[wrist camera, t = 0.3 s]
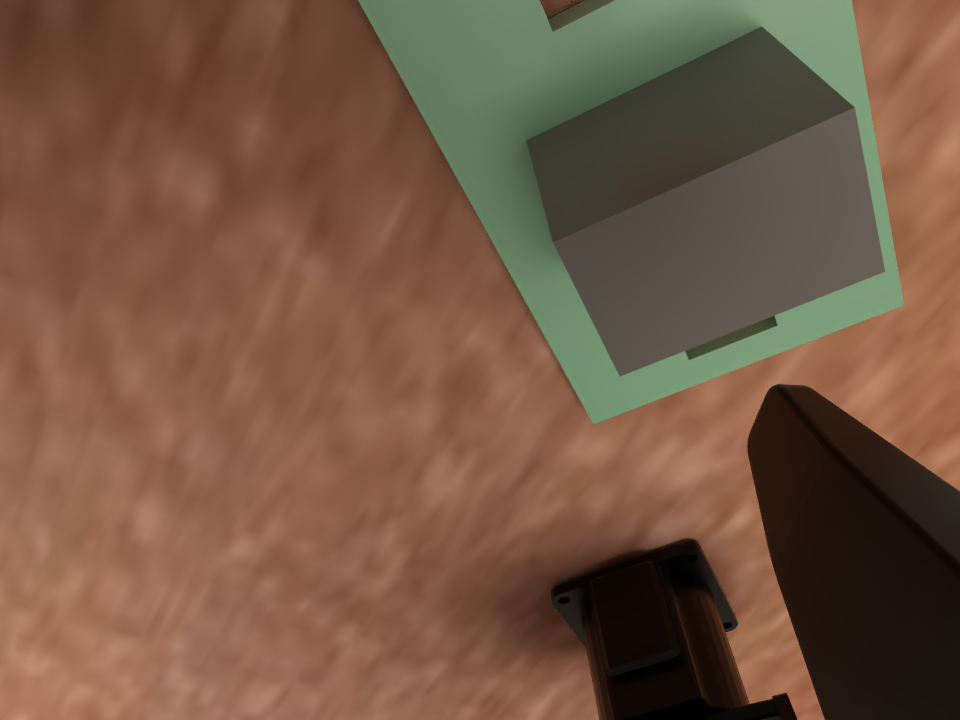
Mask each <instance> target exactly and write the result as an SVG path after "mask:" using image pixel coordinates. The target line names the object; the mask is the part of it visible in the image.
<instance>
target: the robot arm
mask: <svg viewBox="0 0 960 720" xmlns="http://www.w3.org/2000/svg"><path fill="white" fill-rule="evenodd" d="M747 448H748V457H749V461H750V466H751V471H752V475H753V480H754V484H755V489H756V494H757V498H758V503H759V508H760V512H761V517H762V521H763V526H764V531H765V535H766V540H767V544H768V549H769V553H770V557H771V561H772V564H773V568H774V571H775V574H776V577H777V580H778V584H779V587H780V589H781V592H782V595H783V598H784V601H785V604H786V607H787V610H788V613H789V616H790V619H791V622H792V625H793V628H794V631H795V634H796V636H797V639H798V642H799V645H800V648H801V651H802V654H803V657H804V660H805V663H806V666H807V669H808V672H809V675H810V678H811V680H812V683H813V686H814V689H815V692H816V695H817V698H818V701H819V704H820V707H821V710H822V713H823V716H824V719H825V720H960V491H958V490H957V489H956V488H954V487H953V486H951V485H950V484H948V483H947V482H945V481H944V480H943V479H941V478H940V477H938V476H937V475H935V474H934V473H933V472H931V471H930V470H928V469H927V468H925V467H924V466H922V465H921V464H920V463H918V462H917V461H915V460H914V459H912V458H911V457H909V456H908V455H907V454H905V453H904V452H902V451H901V450H899V449H898V448H896V447H895V446H894V445H892V444H891V443H889V442H888V441H886V440H885V439H884V438H882V437H881V436H879V435H878V434H876V433H875V432H873V431H872V430H871V429H869V428H868V427H866V426H865V425H863V424H862V423H861V422H859V421H858V420H856V419H855V418H853V417H852V416H850V415H849V414H848V413H846V412H845V411H843V410H842V409H840V408H839V407H837V406H836V405H835V404H833V403H832V402H830V401H829V400H827V399H826V398H825V397H823V396H822V395H820V394H819V393H817V392H816V391H814V390H813V389H812V388H810V387H807V386H803V385H785V384H777V385H774V386H772V387H771V388H770V389H769V390H768V392H767V394H766V396H765V398H764V400H763V403H762V405H761V407H760V410H759V412H758V414H757V417H756V419H755V422H754V424H753V426H752V429H751V431H750V434H749V437H748V445H747ZM551 596H552V602H553V604H554V606H555V607H556V608H557V610H558V611H559V612H560V614H561V615H562V616H563V618H564V619H565V620H566V622H567V623H568V624H569V626H570V627H571V628H572V629H573V631H574V632H575V633H576V635H577V636H578V637H579V639H580V640H581V641H582V643H583V644H584V645H585V647H586V649H587V654H588V660H589V665H590V671H591V676H592V682H593V687H594V693H595V698H596V704H597V709H598V715H599V720H797V717H796V715H795V712H794V710H793V707H792V705H791V703H790V700H789V698H788V695H787V693H783V694H779V695H775V696H772V698H773V699H770V700H765V701H761V702H757V703H753V704H750V703H749V701H748V698H747V695H746V692H745V689H744V686H743V683H742V680H741V677H740V674H739V671H738V668H737V665H736V662H735V659H734V656H733V653H732V650H731V647H730V644H729V641H728V639H727V636H726V633H725V632H728V631H731V630H733V629H735V628H736V627H737V625H738V622H737V619H736V616H735V614H734V612H733V610H732V608H731V606H730V604H729V602H728V600H727V598H726V596H725V594H724V592H723V590H722V588H721V586H720V584H719V582H718V580H717V578H716V576H715V574H714V572H713V570H712V568H711V566H710V564H709V562H708V560H707V558H706V556H705V554H704V552H703V550H702V548H701V546H700V545H699V544H697V543H693V542H689V543H685V544H682V545H679V546H676V547H673V548H670V549H667V550H664V551H661V552H658V553H655V554H652V555H649V556H646V557H643V558H640V559H637V560H634V561H631V562H628V563H625V564H622V565H619V566H616V567H613V568H610V569H607V570H605V571H602V572H599V573H596V574H593V575H590V576H587V577H584V578H581V579H578V580H575V581H572V582H569V583H566V584H563V585H560V586H557V587H555V588H554V589H553V590H552V592H551Z"/></svg>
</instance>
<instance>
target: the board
mask: <svg viewBox="0 0 960 720" xmlns="http://www.w3.org/2000/svg"><path fill="white" fill-rule="evenodd" d="M358 1H359V3H360V5H361V7H362V8H363V10H364V12H365V14H366V16H367V17H368V19H369V21H370V23H371V25H372V26H373V28H374V30H375V32H376V34H377V35H378V37H379V39H380V41H381V43H382V44H383V46H384V48H385V50H386V52H387V53H388V55H389V57H390V59H391V61H392V62H393V64H394V66H395V68H396V70H397V71H398V73H399V75H400V77H401V79H402V80H403V82H404V84H405V86H406V88H407V89H408V91H409V93H410V95H411V97H412V98H413V100H414V102H415V104H416V106H417V107H418V109H419V111H420V113H421V115H422V116H423V118H424V120H425V122H426V124H427V125H428V127H429V129H430V131H431V133H432V134H433V136H434V138H435V140H436V142H437V143H438V145H439V147H440V149H441V151H442V152H443V154H444V156H445V158H446V160H447V161H448V163H449V165H450V167H451V169H452V170H453V172H454V174H455V176H456V178H457V179H458V181H459V183H460V185H461V187H462V188H463V190H464V192H465V194H466V196H467V197H468V199H469V201H470V203H471V205H472V206H473V208H474V210H475V212H476V214H477V215H478V217H479V219H480V221H481V223H482V224H483V226H484V228H485V230H486V232H487V233H488V235H489V237H490V239H491V241H492V242H493V244H494V246H495V248H496V250H497V251H498V253H499V255H500V257H501V259H502V260H503V262H504V264H505V266H506V268H507V269H508V271H509V273H510V275H511V277H512V278H513V280H514V282H515V284H516V286H517V287H518V289H519V291H520V293H521V295H522V296H523V298H524V300H525V302H526V304H527V305H528V307H529V309H530V311H531V313H532V314H533V316H534V318H535V320H536V322H537V323H538V325H539V327H540V329H541V331H542V332H543V334H544V336H545V338H546V340H547V341H548V343H549V345H550V347H551V349H552V350H553V352H554V354H555V356H556V358H557V359H558V361H559V363H560V365H561V367H562V368H563V370H564V372H565V374H566V376H567V377H568V379H569V381H570V383H571V385H572V386H573V388H574V390H575V392H576V394H577V395H578V397H579V399H580V401H581V403H582V404H583V406H584V408H585V410H586V412H587V413H588V415H589V417H590V419H591V421H592V422H593V424H596V423H598V422H601V421H604V420H606V419H609V418H611V417H614V416H617V415H619V414H622V413H624V412H627V411H630V410H632V409H635V408H637V407H640V406H643V405H645V404H648V403H650V402H653V401H656V400H658V399H661V398H664V397H666V396H669V395H671V394H674V393H677V392H679V391H682V390H684V389H687V388H690V387H692V386H695V385H697V384H700V383H703V382H705V381H708V380H710V379H713V378H716V377H718V376H721V375H723V374H726V373H729V372H731V371H734V370H736V369H739V368H742V367H744V366H747V365H750V364H752V363H755V362H757V361H760V360H763V359H765V358H768V357H770V356H773V355H776V354H778V353H781V352H783V351H786V350H789V349H791V348H794V347H796V346H799V345H802V344H804V343H807V342H809V341H812V340H815V339H817V338H820V337H822V336H825V335H828V334H830V333H833V332H836V331H838V330H841V329H843V328H846V327H849V326H851V325H854V324H856V323H859V322H862V321H864V320H867V319H869V318H872V317H875V316H877V315H880V314H882V313H885V312H888V311H890V310H893V309H895V308H898V307H901V306H903V305H904V302H903V297H902V291H901V285H900V279H899V273H898V268H897V262H896V256H895V250H894V244H893V238H892V233H891V227H890V221H889V215H888V209H887V203H886V198H885V192H884V186H883V180H882V174H881V169H880V163H879V157H878V151H877V145H876V139H875V134H874V128H873V122H872V116H871V110H870V104H869V99H868V93H867V87H866V81H865V75H864V70H863V64H862V58H861V52H860V46H859V40H858V35H857V29H856V23H855V17H854V11H853V5H852V0H584V1H582V2H580V3H578V4H576V5H574V6H572V7H570V8H569V9H567V10H565V11H563V12H561V13H559V14H557V15H555V16H553V17H551V18H549V19H547V17H546V14H545V12H544V9H543V7H542V4H541V2H540V0H358Z"/></svg>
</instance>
